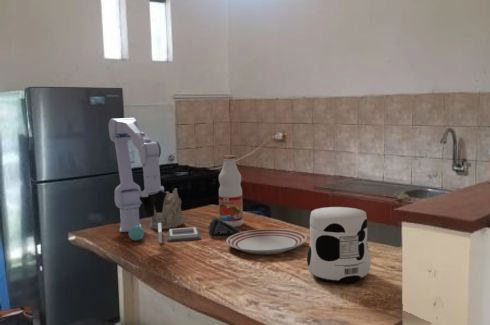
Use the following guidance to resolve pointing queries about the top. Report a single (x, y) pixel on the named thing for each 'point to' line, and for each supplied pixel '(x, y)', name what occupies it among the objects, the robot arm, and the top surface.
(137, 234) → the ball
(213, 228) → the chocolate cake
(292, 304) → the top surface
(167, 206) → the jagged rock
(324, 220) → the milk container
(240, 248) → the dinner plate
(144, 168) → the robot arm
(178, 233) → the mat
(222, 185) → the fruit juice
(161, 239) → the wall
